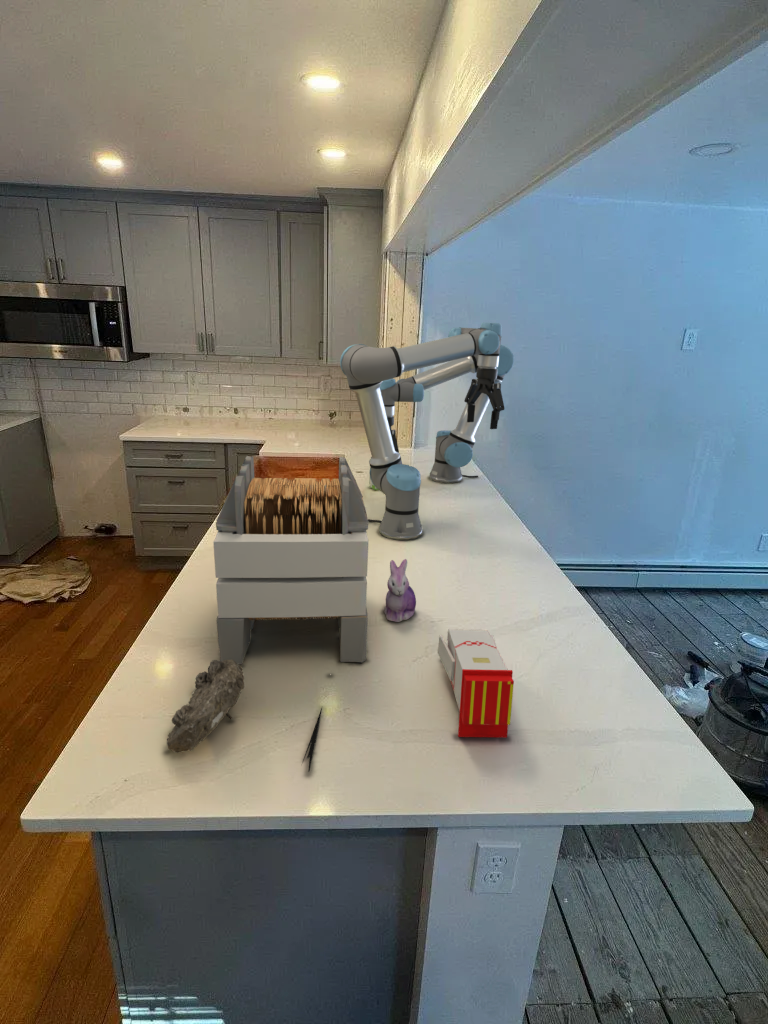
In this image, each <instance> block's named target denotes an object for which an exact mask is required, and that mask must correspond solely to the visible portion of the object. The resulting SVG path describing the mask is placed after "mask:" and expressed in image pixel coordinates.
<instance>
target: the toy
mask: <svg viewBox="0 0 768 1024" xmlns="http://www.w3.org/2000/svg"><path fill="white" fill-rule="evenodd" d="M446 640H447V643H446V641H445V639H444V636H443V635H442V634H439V637H438V646H437V656H438V657H439V659H440V661H441V663H442V666H443V668H444V670H445V672H446V674H447V677H448V679H449V681H450V684H451V687H452V690H453V693H454V697H455V701H456V705H457V708H458V711H459V714H458V715H459V716H458V730H457V731H458V732H457V737H458V738H508V731H509V726H510V725H511V717H512V707H513V697H514V696H513V695H514V684H515V680H514V679H513V673H514V671H513V670H512V669H508V667H507V665H506V662H505V661H504V659H503V658H502V655H501V653H500V651H499V649H498V647H497V643H496V639H495V637H494V635H493V634H491V632H490V631H489V629H467V628H466V629H465V628H463V629H461V628H460V629H459V628H448V630H447V639H446Z"/></svg>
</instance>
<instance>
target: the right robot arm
mask: <svg viewBox="0 0 768 1024" xmlns="http://www.w3.org/2000/svg"><path fill="white" fill-rule="evenodd" d="M477 362H478V355H474V356H469V357H465V358H461V359H457V360H453V361H448V362H444V363H441V364H439V365H437V366H435V367H432V368H430V369H427V370H425V371H422V372H420V373H416V374H413V375H412V376H410V377H407V378H400V379H398V380H397V381H396V378H392V379H388V380H385V381H383V382H382V383H381V385H380V391H381V395H382V399H383V403H384V407H385V412H386V416H387V420H388V424H389V428H390V432H391V437H392V441H393V445H394V449H395V451H396V452H398V453H400V450H399V445H398V439H397V431H396V429H392V427H393V426H394V425H395V407H396V406H395V404H396V403H421V402H422V401H423V400H424V396H425V395H424V394H425V391H426V390H428V389H430V388H434V387H436V386H439V385H440V384H443V383H446V382H448V381H451V380H454V379H456V378H460V377H461V376H464V375H467V374H469V373H472V374H476V373H477V368H478V367H479V366H477ZM514 364H515V356H514V354H513V351H512V350H511V349H510V348H509V347H507V346H505V345H503V344H501V345H500V353H499V362H498V367H496V369H497V370H498V372H497V378H496V379H495V383H502V382H503V380H504V378H505V376H506V375H507V374H508V373H510V372H511V370H512V369H513V367H514ZM476 379H478V378H477V377H476ZM489 403H490V400H489V397H488V396H487V395H486V394H484V393H481V395H480V396H479V397H478V399H477V400H476V402H475V404H473V405H475V414H474V422H467V416H468V413H467V409H468V404H467V403H465V407H464V409H463V411H462V413H461V415H460V418H459V420H458V423H457V424H456V426H455V429H452V430H449V429H447V430H446V429H445V430H438V431H437V432H436V437H435V447H434V448H435V449H434V451H435V452H434V463H433V465H432V467H431V470H430V471H429V480H431V481H432V482H436V483H440V484H458V483H460V482H462V481H463V478H468V479H475V478H479V475H467V474H462V470H461V468H463V467H465V466H467V465H468V464H470V462H471V461H472V459H473V456H474V451H473V448H474V445H475V444H476V439H475V435H476V434H477V430H478V429H479V425H480V424H481V421H482V419H483V417H484V414H485V412H486V410H487V408H488V405H489Z"/></svg>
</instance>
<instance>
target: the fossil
mask: <svg viewBox="0 0 768 1024" xmlns="http://www.w3.org/2000/svg"><path fill="white" fill-rule="evenodd" d="M243 670H244V669H243V667H242V665H241V664H236V662H235V661H234V660H232V659H231V660H228V659H227V660H224V661H223V662H222V661H220V660H217V659H212V660H211V661H210V663H209V665H208V666H207V671H201V672H199V673H198V674H197V675H196V676H195V680H194V684H195V685H194V687H195V689H194V690H193V693H192V694H191V697H190V698H189V700H188V704H184V705H182V706H181V707H180V709H177V710H176V711H175V713H174V715H173V716H172V718H171V723H172V724H173V727H172V730H171V731H170V732H168V734H167V738H166V741H167V742H166V745H167V749H168V750H169V751H173V752H174V753H176V754H178V753H182V752H188V751H189V752H192V751H193V750H195V748H196V747H197V746H199V744H200V743H201V742H203V741H204V740H205V739H206V738H207V737H208V736H209V735H210V734H211V733H212V732H214V730H215V729H217V727H218V726H219V724H220V722H221V721H222V720H223V719H224V718H225V716H226V717H227V719H229V720H233V717H232V715H230V714H229V710H230V709H231V708H234V706H235V704H236V703H237V702H238V699H239V697H240V695H241V693H242V691H243V690H245V689H244V688H245V675H244V671H243Z"/></svg>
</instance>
